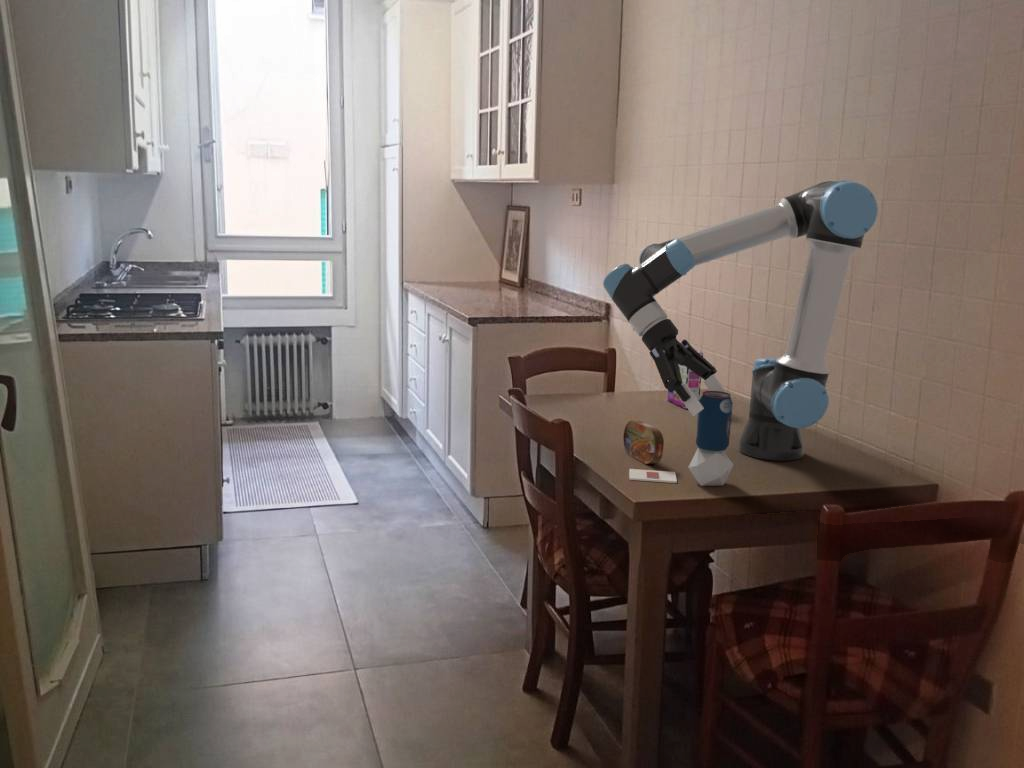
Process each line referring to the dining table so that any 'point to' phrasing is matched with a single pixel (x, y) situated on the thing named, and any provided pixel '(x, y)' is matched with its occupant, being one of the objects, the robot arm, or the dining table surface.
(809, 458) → the dining table surface
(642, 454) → the tin
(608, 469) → the dining table surface
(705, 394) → the soda can
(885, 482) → the dining table surface
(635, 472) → the card
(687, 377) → the candy bar box
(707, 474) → the die
